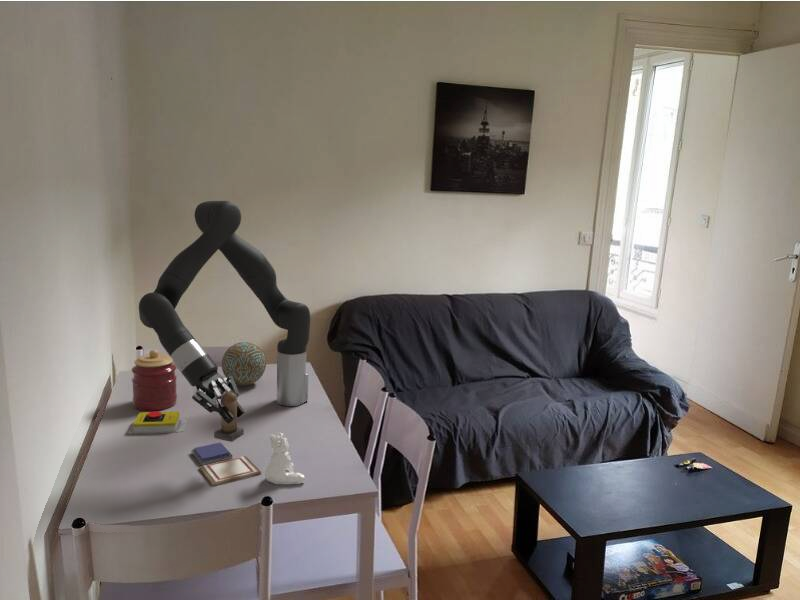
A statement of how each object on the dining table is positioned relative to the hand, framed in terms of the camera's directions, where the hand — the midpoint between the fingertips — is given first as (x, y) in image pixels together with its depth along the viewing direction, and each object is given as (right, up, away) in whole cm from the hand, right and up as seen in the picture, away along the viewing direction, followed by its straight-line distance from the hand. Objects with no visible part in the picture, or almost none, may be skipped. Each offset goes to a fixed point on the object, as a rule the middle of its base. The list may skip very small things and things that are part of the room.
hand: (236, 418), depth 147 cm
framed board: (-3, -14, +3) cm, 15 cm away
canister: (-37, -4, +44) cm, 58 cm away
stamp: (-2, -5, +2) cm, 6 cm away
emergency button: (-30, -8, +28) cm, 42 cm away
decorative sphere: (-15, -1, +66) cm, 68 cm away
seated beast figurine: (+11, -15, +1) cm, 19 cm away
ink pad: (-9, -12, +11) cm, 19 cm away
